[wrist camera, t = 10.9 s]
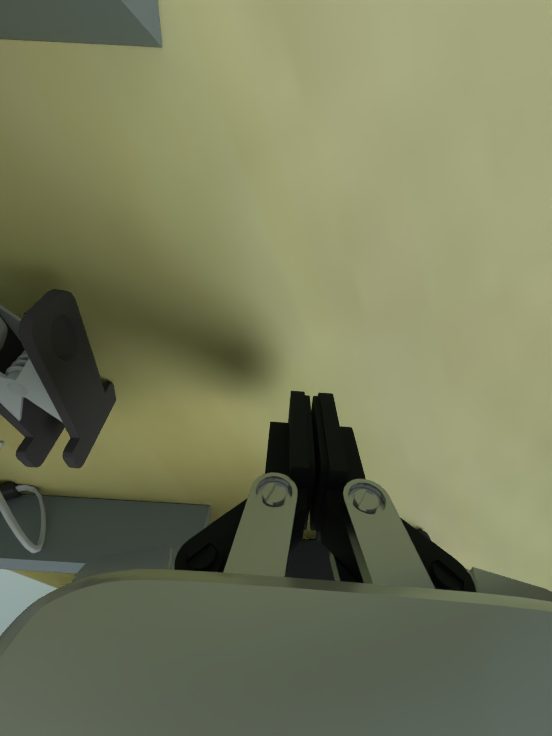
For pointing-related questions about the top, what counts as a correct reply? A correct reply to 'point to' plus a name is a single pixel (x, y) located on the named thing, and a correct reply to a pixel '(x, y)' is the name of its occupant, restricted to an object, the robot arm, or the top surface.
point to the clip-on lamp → (49, 391)
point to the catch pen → (70, 514)
